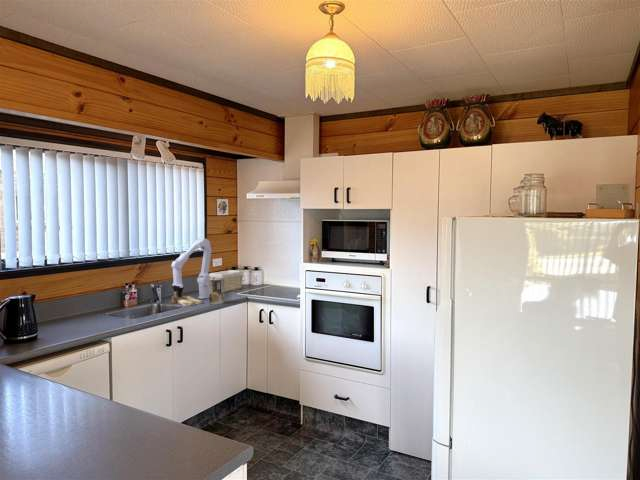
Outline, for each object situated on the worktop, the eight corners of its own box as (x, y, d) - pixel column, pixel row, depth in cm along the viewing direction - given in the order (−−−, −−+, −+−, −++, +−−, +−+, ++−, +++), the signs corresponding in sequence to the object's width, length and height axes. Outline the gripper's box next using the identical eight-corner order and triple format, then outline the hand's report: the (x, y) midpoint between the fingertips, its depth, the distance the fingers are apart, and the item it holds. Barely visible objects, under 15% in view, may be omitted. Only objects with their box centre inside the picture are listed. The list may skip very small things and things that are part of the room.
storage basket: (230, 286, 377) (229, 269, 376) (244, 288, 368) (243, 270, 367) (208, 291, 357) (207, 273, 356) (223, 293, 349) (222, 274, 348)
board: (189, 298, 331) (189, 296, 330) (202, 303, 312) (202, 300, 312) (173, 301, 323) (173, 298, 323) (185, 306, 304) (185, 303, 304)
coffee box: (225, 302, 314) (224, 279, 313) (222, 304, 308) (221, 280, 307) (212, 302, 315) (211, 279, 314) (209, 304, 309) (208, 281, 308)
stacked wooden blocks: (185, 299, 325) (185, 289, 325) (188, 300, 321) (187, 290, 321) (171, 301, 319) (171, 291, 319) (174, 302, 315) (173, 292, 315)
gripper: (168, 277, 322) (169, 296, 323) (175, 279, 310) (176, 298, 311) (177, 276, 326) (179, 294, 327) (185, 278, 315) (186, 297, 316)
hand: (178, 296), depth 319 cm, fingers closed on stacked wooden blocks, 4 cm apart
